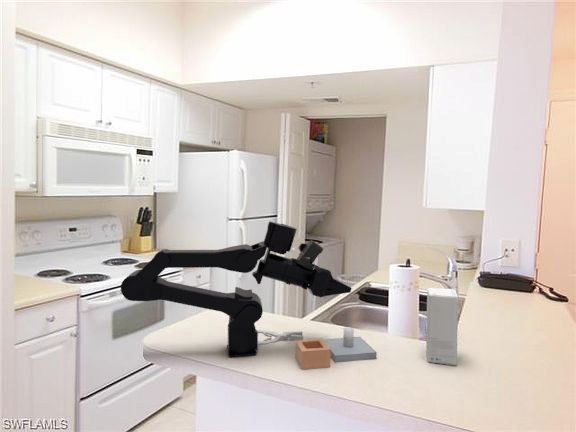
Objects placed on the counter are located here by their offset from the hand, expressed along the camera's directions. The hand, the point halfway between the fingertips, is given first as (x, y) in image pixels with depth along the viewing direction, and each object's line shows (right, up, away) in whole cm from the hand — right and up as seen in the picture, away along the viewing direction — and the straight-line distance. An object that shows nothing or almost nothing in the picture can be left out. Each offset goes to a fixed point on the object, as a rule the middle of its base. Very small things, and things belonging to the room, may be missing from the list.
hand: (345, 287), depth 101 cm
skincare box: (+22, -16, -4) cm, 27 cm away
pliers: (-18, -15, +7) cm, 24 cm away
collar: (-8, -16, -7) cm, 19 cm away
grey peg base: (+1, -15, -1) cm, 15 cm away
